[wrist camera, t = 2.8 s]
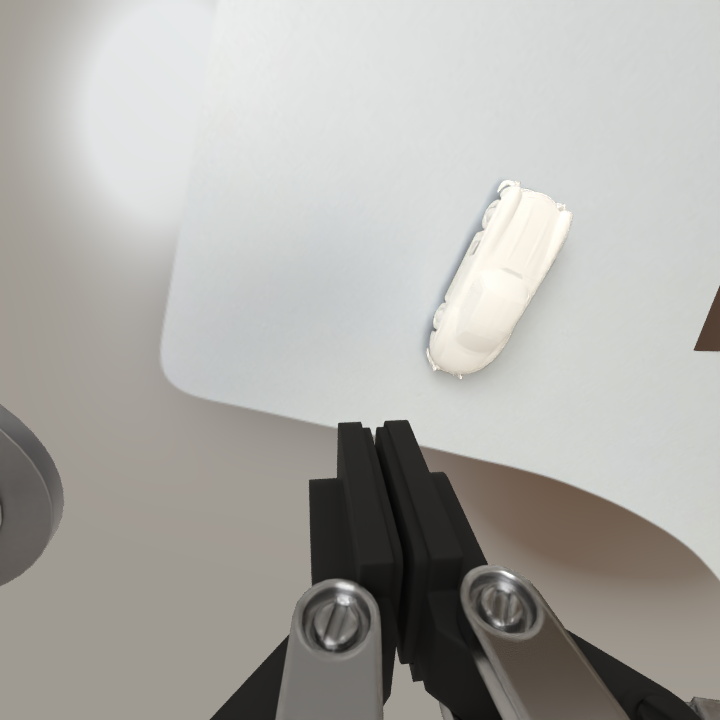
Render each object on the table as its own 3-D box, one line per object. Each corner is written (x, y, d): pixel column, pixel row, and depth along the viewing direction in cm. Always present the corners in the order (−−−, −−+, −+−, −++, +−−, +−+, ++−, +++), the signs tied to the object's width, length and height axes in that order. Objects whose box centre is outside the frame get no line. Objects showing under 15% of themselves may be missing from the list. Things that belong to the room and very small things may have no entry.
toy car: (564, 207, 26) (601, 214, 23) (470, 375, 30) (490, 401, 27) (498, 174, 24) (527, 177, 21) (409, 355, 29) (423, 379, 26)
